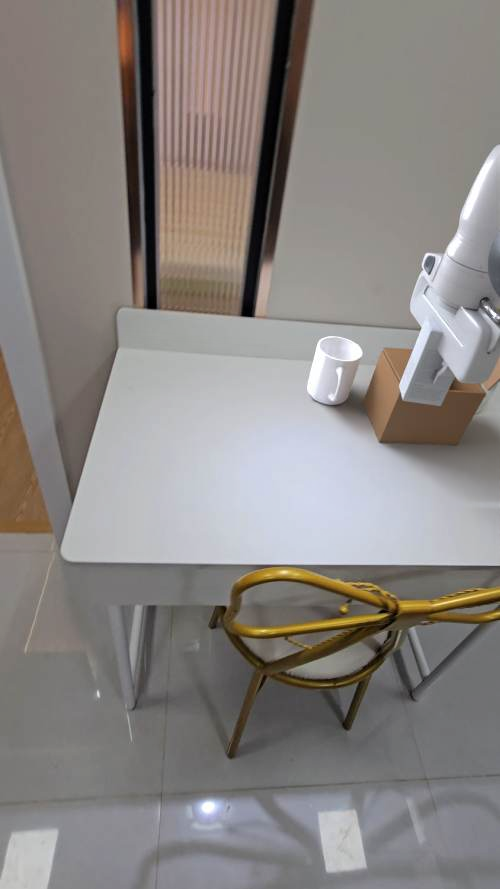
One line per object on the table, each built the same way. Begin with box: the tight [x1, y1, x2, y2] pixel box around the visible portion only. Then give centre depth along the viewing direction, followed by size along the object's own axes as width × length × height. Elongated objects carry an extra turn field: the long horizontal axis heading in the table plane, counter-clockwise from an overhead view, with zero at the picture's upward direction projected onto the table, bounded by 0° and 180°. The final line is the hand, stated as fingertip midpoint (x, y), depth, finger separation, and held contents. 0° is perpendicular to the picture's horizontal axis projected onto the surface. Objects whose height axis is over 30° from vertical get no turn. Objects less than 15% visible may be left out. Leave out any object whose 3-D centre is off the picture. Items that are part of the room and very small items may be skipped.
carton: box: [362, 346, 487, 446], centre depth 97 cm, size 17×13×14 cm
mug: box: [306, 335, 363, 406], centre depth 101 cm, size 10×12×12 cm
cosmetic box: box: [399, 317, 455, 406], centre depth 69 cm, size 6×4×12 cm
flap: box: [482, 357, 500, 392], centre depth 91 cm, size 8×13×1 cm
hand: (429, 371), depth 70 cm, fingers closed on cosmetic box, 4 cm apart
